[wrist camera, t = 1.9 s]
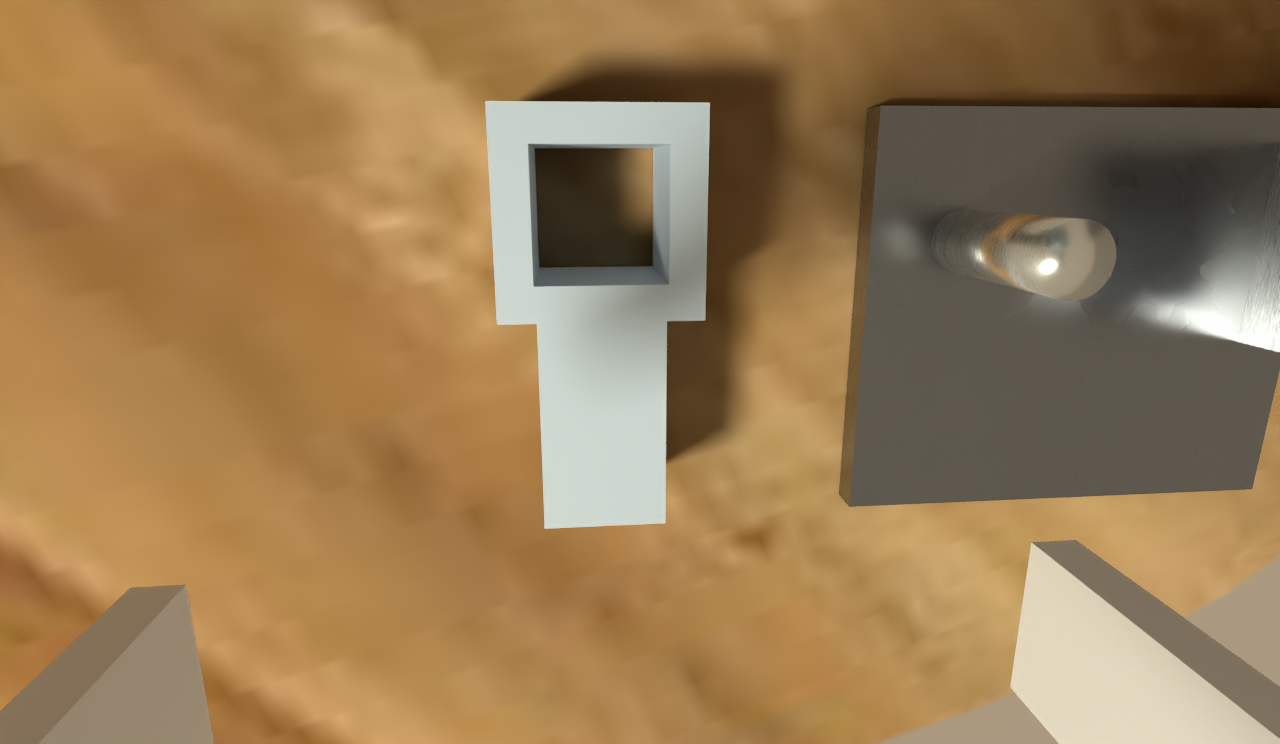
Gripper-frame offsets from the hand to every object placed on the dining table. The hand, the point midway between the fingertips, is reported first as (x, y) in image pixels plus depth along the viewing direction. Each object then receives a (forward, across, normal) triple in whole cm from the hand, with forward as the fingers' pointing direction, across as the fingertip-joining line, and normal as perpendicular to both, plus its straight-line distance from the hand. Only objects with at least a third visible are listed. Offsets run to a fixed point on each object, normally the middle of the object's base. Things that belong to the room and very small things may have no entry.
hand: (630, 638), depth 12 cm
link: (+13, 0, +3) cm, 14 cm away
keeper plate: (+13, +16, +2) cm, 21 cm away
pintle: (+12, +12, +5) cm, 18 cm away
